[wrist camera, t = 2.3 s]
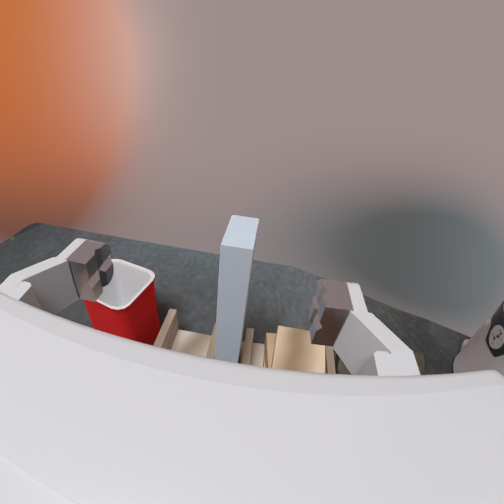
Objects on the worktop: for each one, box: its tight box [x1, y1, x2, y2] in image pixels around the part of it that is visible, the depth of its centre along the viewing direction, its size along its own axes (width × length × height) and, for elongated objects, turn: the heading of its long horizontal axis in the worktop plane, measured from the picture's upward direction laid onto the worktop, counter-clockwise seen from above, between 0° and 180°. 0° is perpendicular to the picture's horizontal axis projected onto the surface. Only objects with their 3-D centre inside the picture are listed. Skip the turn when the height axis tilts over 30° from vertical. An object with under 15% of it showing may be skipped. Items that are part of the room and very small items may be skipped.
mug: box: [84, 259, 160, 345], centre depth 36 cm, size 12×8×11 cm
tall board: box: [215, 215, 259, 363], centre depth 29 cm, size 2×6×20 cm, turn 174°
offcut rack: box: [153, 309, 336, 374], centre depth 34 cm, size 22×10×6 cm, turn 84°
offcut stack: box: [263, 326, 325, 373], centre depth 33 cm, size 7×8×6 cm
